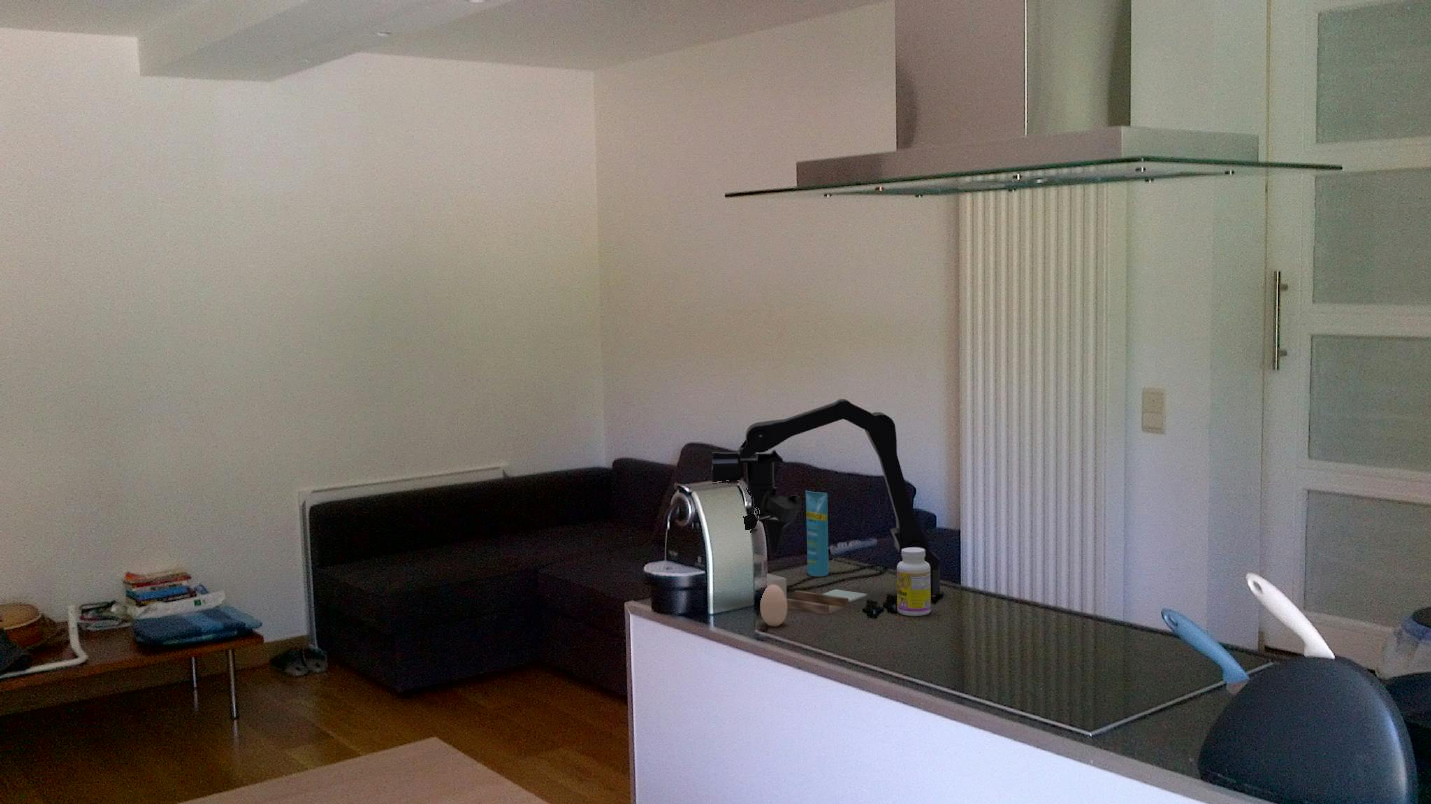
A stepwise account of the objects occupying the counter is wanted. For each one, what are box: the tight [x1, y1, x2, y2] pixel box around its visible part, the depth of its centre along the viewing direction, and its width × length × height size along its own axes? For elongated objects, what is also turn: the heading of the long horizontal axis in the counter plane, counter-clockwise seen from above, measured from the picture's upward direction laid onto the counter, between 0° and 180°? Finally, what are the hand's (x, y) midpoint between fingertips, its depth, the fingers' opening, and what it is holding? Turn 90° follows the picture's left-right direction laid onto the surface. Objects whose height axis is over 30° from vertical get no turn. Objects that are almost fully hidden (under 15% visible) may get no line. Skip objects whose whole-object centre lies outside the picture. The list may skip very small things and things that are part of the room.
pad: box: [822, 588, 868, 603], centre depth 266 cm, size 8×8×1 cm
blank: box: [766, 573, 788, 598], centre depth 266 cm, size 6×4×5 cm, turn 37°
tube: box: [805, 490, 830, 577], centre depth 289 cm, size 7×5×19 cm, turn 43°
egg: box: [759, 585, 788, 627], centre depth 245 cm, size 5×5×8 cm
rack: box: [786, 589, 850, 616], centre depth 259 cm, size 13×8×2 cm, turn 50°
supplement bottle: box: [896, 547, 932, 617], centre depth 252 cm, size 7×7×13 cm
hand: (762, 556), depth 266 cm, fingers open, 9 cm apart
